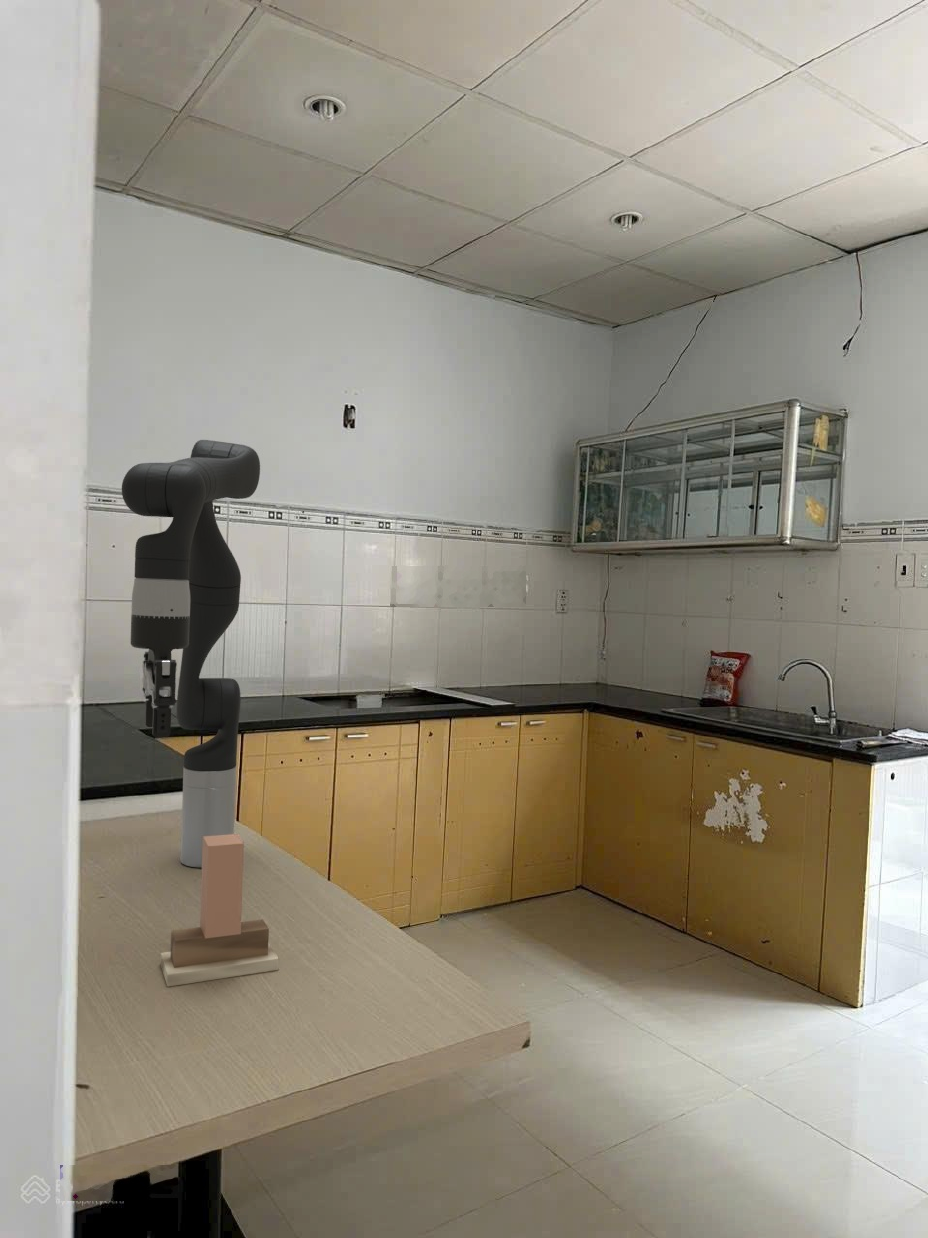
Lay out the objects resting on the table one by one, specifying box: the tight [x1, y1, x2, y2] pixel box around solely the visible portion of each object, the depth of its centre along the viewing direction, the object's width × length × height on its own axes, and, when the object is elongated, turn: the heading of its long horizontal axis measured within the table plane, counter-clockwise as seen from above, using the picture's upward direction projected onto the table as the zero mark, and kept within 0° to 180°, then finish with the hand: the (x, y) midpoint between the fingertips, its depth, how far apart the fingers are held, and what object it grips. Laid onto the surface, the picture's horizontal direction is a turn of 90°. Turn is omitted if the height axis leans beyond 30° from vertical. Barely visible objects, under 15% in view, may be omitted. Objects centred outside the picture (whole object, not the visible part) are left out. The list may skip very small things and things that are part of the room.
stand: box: [160, 918, 280, 987], centre depth 117 cm, size 7×14×5 cm, turn 116°
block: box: [199, 833, 245, 938], centre depth 116 cm, size 4×4×12 cm
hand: (157, 731), depth 120 cm, fingers open, 8 cm apart
